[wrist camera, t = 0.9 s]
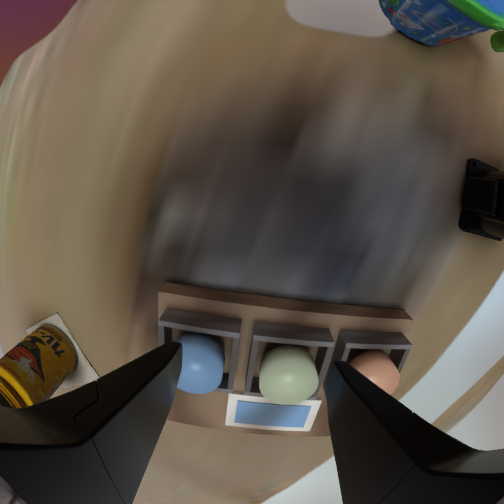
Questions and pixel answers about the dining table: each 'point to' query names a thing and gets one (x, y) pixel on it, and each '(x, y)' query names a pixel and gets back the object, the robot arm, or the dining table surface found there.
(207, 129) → the dining table surface
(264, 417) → the console
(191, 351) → the slate blue button
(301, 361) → the sage button
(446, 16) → the snack cup
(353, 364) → the terracotta button
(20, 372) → the condiment
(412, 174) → the dining table surface
